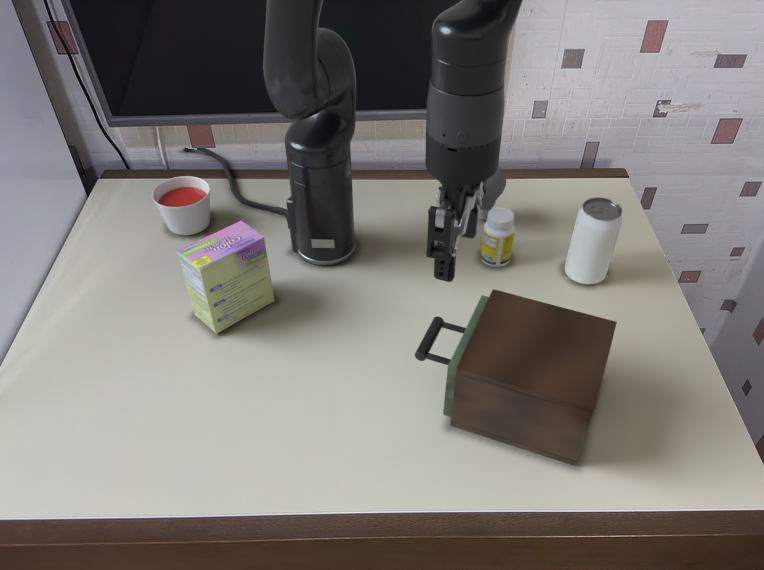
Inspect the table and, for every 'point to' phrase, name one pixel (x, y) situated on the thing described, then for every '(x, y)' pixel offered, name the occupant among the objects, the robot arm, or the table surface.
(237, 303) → the box
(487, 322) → the cabinet
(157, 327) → the table surface
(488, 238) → the supplement bottle
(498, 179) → the light bulb
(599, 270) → the can
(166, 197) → the candle
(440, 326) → the drawer
